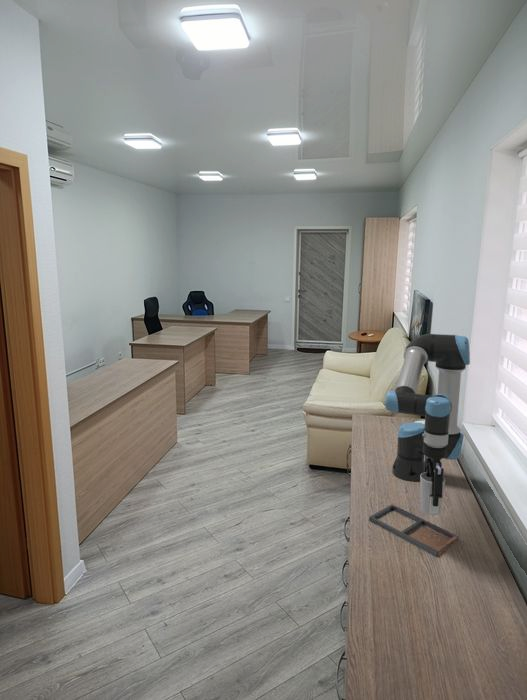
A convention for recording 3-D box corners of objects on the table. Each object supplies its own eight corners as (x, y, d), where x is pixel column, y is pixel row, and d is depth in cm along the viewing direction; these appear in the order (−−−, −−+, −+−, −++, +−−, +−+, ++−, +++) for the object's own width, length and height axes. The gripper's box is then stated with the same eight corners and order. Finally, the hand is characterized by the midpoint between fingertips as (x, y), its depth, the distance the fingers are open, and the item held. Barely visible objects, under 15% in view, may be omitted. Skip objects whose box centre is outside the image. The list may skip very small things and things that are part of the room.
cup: (444, 517, 148) (447, 484, 146) (419, 515, 149) (421, 481, 147) (440, 505, 155) (443, 473, 153) (416, 503, 157) (418, 471, 155)
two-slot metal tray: (368, 520, 165) (369, 516, 165) (391, 507, 174) (391, 504, 174) (436, 556, 145) (436, 552, 145) (458, 540, 153) (458, 536, 153)
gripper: (416, 432, 158) (412, 492, 163) (431, 455, 139) (426, 523, 143) (438, 433, 158) (434, 493, 162) (456, 456, 138) (451, 524, 142)
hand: (430, 507), depth 152 cm, fingers closed on cup, 7 cm apart
